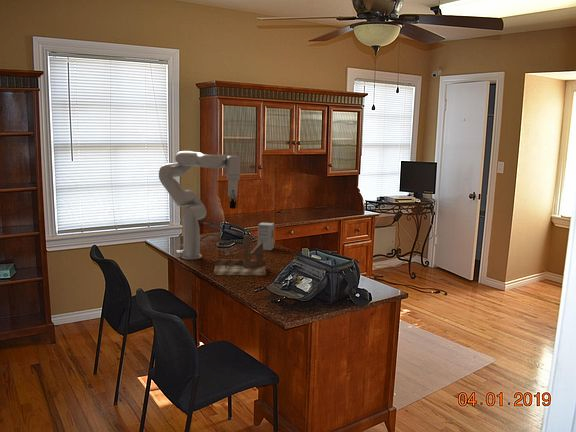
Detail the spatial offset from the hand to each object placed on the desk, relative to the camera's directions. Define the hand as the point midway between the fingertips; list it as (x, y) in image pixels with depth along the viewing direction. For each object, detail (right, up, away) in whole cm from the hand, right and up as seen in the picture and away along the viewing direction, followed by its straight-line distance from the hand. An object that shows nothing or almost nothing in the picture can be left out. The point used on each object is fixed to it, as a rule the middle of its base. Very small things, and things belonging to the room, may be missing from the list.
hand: (232, 207), depth 292 cm
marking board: (+5, -36, -12) cm, 38 cm away
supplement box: (+17, -27, +44) cm, 54 cm away
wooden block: (+12, -34, -9) cm, 37 cm away
